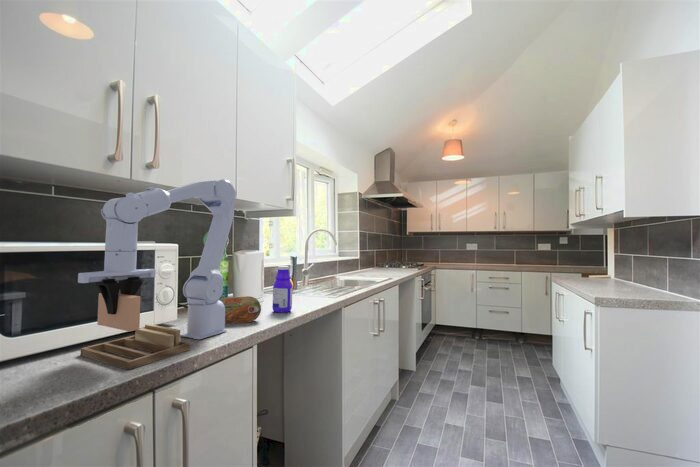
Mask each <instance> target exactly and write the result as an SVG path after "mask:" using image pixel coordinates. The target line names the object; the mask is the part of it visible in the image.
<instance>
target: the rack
mask: <svg viewBox="0 0 700 467" xmlns="http://www.w3.org/2000/svg"><path fill="white" fill-rule="evenodd" d="M124 346H125V347H124ZM128 347H130V348H128ZM136 349H139V350H136ZM140 350H142V351H140ZM190 350H191V343H190V342H187V341H182V340H180V345H179V346H175V347H172V348H168V347H163V346H159V345H155V344H151V343H146V342H142V341H138V340H135V334H134V335H131V336H127V337H126V336H125V337H121V338H117V339H113V340H110V341H106V342H102V343H97V344H94V345H89V346H84V347H81V348H80V354H79V355H80V356H82V357H86V358H89V359H92V360H96V361H98V362H102V363H104V364H108V365H111V366H115V367H116V368H117V367H118V368H121V369H124V370H126V371H130V370H132V369H133V370H134V369H136V368H139V367H142V366H144V365H148V364H151V363H154V362H157V361H160V360H162V359H165V358H166V359H167V358H168V357H172V356H174V355H177V354H180V353H183V352H186V351H190ZM103 351H105V352H103ZM144 351H145V352H144ZM106 352H108V353H106ZM147 352H148V353H147ZM149 352H150V353H149ZM109 353H112V354H109ZM114 354H115V355H114ZM120 356H122V357H120ZM124 357H126V358H124ZM127 358H129V359H127Z"/></svg>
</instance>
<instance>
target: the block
mask: <svg viewBox="0 0 700 467" xmlns="http://www.w3.org/2000/svg"><path fill="white" fill-rule="evenodd" d="M141 298H142V297H141V296H139V295H135V296H133V295H126V294H121V293H119V294H118V304H117V313H116V314H113V315H112V314H108V313H107V308H106V304H105V301H104V299H103V296H102V294H101V292H100V293H98V305H97V326H103V327H107V328H112V329H117V330H121V331H126V332H133V331H135V330H138V329H139V328H140V321H141V301H142V300H141Z"/></svg>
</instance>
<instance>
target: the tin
mask: <svg viewBox="0 0 700 467" xmlns="http://www.w3.org/2000/svg"><path fill="white" fill-rule="evenodd" d="M218 300H219V301H221V302H222V303H223V304H224V306H225V325H231V324H246V323H247V324H248V323H252V322H254V321H255V320H257V319H258V318H259V317H260V315H261V310H262V306H261V302H260V301H259V300H258V299H257V298H256V297H254V296H249V295H248V296H229V297H228V296H227V297H226V296H225V297H220V298H219V299H218Z"/></svg>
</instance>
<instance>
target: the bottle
mask: <svg viewBox="0 0 700 467" xmlns="http://www.w3.org/2000/svg"><path fill="white" fill-rule="evenodd" d="M292 283H293V282H292V281H291V275H290V266H288V265H278V266H277V274H276V276H275V282H274V283H273V285H272V311H273V312H274V313H282V314H283V313H284V314H285V313H289V312H290V311H291V310H292V306H293V284H292Z"/></svg>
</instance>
